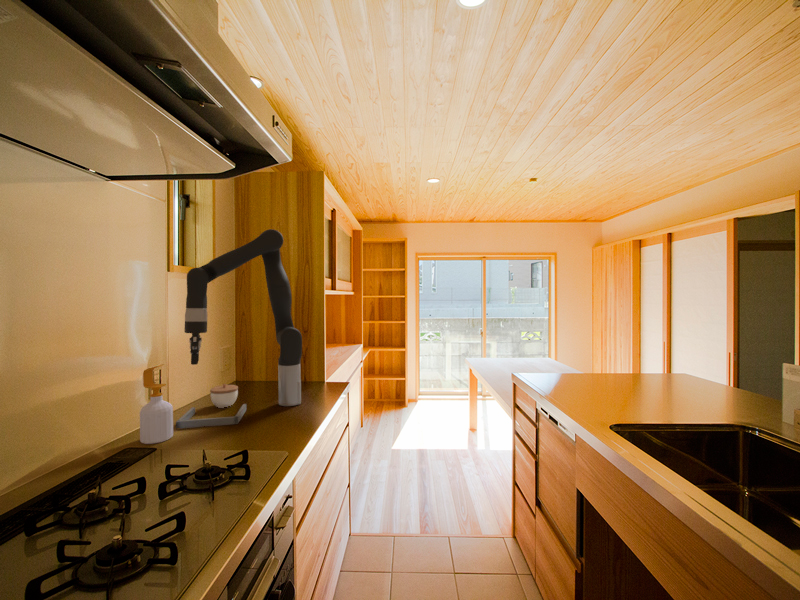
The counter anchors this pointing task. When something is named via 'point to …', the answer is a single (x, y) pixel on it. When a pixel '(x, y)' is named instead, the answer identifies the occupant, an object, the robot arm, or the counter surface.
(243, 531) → the counter surface
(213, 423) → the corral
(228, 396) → the lidded jar
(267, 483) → the counter surface
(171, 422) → the soap bottle
